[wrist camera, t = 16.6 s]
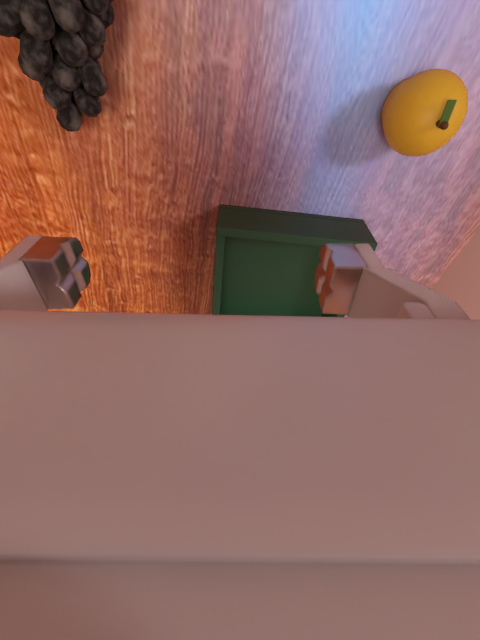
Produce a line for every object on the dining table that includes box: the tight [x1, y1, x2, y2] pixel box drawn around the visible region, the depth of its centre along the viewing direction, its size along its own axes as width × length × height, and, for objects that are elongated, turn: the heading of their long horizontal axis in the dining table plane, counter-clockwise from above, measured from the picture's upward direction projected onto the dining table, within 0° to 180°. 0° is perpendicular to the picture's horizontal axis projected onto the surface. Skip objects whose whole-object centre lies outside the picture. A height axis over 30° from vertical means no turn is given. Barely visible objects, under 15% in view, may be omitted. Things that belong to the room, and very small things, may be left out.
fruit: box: [0, 0, 114, 131], centre depth 20 cm, size 9×8×15 cm
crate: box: [212, 205, 377, 317], centre depth 37 cm, size 17×16×5 cm
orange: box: [382, 69, 468, 156], centre depth 24 cm, size 6×6×7 cm
